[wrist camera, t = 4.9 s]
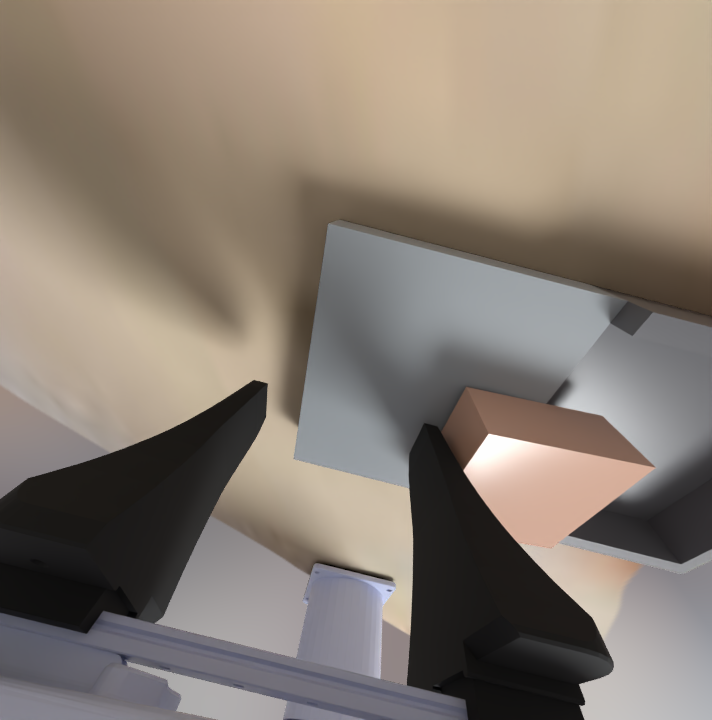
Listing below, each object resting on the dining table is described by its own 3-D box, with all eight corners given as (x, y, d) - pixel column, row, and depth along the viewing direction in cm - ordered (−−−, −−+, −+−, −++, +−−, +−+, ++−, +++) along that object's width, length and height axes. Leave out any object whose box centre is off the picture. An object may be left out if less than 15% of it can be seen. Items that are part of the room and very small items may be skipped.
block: (524, 496, 14) (550, 548, 12) (416, 475, 14) (424, 526, 12) (602, 415, 11) (656, 467, 9) (465, 386, 11) (488, 434, 9)
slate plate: (459, 472, 17) (467, 502, 15) (303, 432, 17) (293, 459, 15) (589, 284, 10) (627, 301, 9) (339, 219, 10) (328, 223, 9)
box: (638, 517, 17) (682, 574, 14) (459, 472, 17) (471, 521, 14) (875, 358, 10) (1031, 410, 8) (589, 284, 10) (652, 312, 8)
